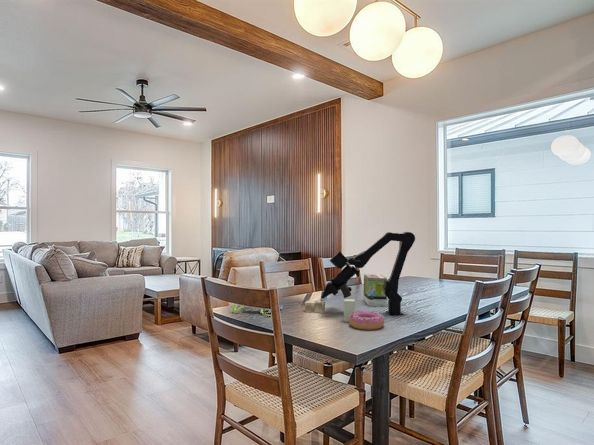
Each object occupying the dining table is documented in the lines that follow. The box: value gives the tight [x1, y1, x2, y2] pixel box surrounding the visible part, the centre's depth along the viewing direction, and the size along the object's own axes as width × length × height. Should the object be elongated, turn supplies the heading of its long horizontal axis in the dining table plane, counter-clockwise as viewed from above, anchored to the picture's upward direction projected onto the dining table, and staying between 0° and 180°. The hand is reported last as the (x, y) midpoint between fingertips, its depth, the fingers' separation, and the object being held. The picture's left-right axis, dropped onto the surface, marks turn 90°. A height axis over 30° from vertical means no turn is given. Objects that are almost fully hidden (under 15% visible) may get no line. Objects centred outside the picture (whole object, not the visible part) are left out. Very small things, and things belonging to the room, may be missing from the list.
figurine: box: [230, 303, 284, 316], centre depth 184 cm, size 18×27×6 cm
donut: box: [349, 310, 385, 331], centre depth 157 cm, size 14×14×5 cm
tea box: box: [363, 273, 388, 307], centre depth 201 cm, size 15×10×15 cm, turn 179°
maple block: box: [304, 300, 326, 314], centre depth 183 cm, size 4×4×9 cm
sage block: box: [343, 298, 356, 323], centre depth 165 cm, size 4×4×9 cm
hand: (321, 298), depth 182 cm, fingers closed
